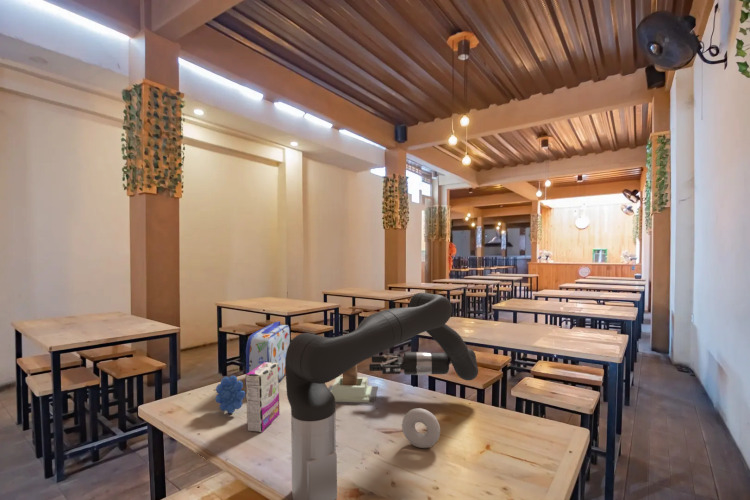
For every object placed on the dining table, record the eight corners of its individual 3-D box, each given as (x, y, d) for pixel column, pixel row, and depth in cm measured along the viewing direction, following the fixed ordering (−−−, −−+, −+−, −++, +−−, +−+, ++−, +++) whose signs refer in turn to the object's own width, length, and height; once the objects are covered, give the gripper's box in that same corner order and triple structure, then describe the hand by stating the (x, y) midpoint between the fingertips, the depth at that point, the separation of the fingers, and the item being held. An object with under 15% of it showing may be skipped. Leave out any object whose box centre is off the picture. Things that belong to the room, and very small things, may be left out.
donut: (400, 447, 95) (400, 408, 95) (404, 440, 98) (403, 403, 98) (438, 454, 92) (438, 414, 92) (441, 447, 95) (441, 408, 95)
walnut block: (357, 389, 130) (357, 350, 130) (355, 394, 126) (355, 353, 126) (344, 389, 131) (344, 349, 130) (342, 394, 126) (342, 353, 126)
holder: (372, 388, 134) (372, 376, 134) (368, 402, 122) (368, 389, 122) (334, 387, 135) (333, 375, 135) (326, 401, 123) (326, 387, 123)
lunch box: (269, 369, 157) (268, 317, 157) (293, 369, 157) (292, 317, 156) (241, 395, 130) (241, 332, 130) (270, 395, 129) (270, 332, 129)
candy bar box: (265, 413, 115) (264, 361, 115) (280, 415, 114) (279, 362, 114) (245, 431, 104) (244, 373, 104) (261, 433, 103) (261, 374, 103)
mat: (378, 387, 136) (378, 386, 135) (374, 406, 120) (374, 405, 120) (329, 386, 137) (329, 385, 137) (319, 404, 121) (319, 403, 121)
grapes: (254, 410, 117) (254, 372, 117) (238, 419, 111) (238, 380, 111) (227, 404, 122) (226, 368, 122) (210, 413, 116) (209, 375, 116)
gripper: (416, 346, 134) (372, 346, 135) (418, 359, 119) (368, 358, 121) (417, 367, 134) (372, 366, 135) (418, 382, 119) (368, 381, 121)
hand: (370, 363), depth 128 cm, fingers open, 8 cm apart
